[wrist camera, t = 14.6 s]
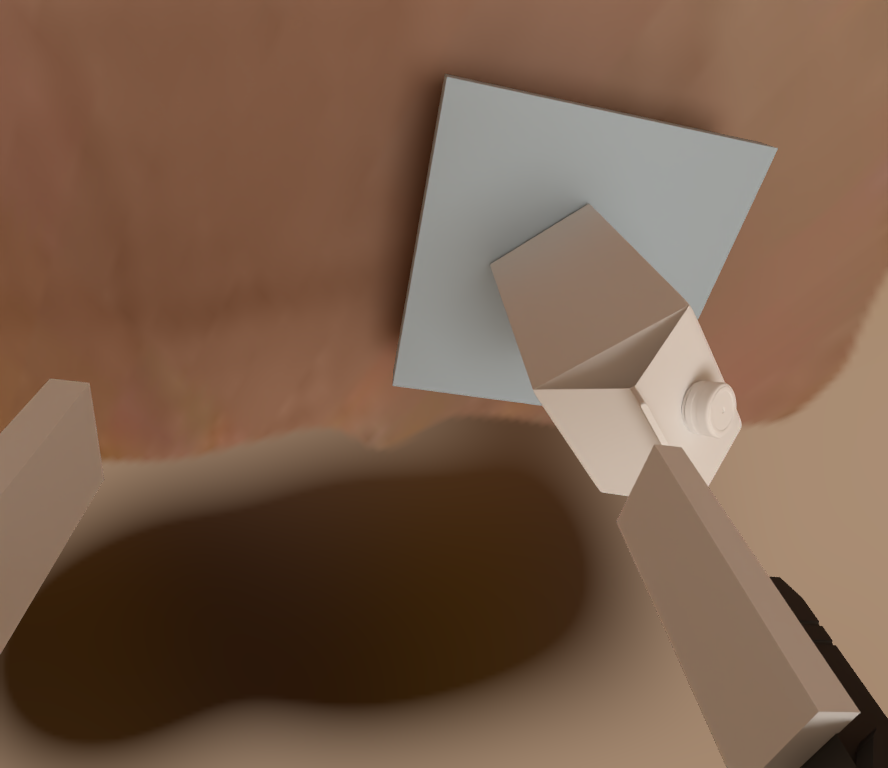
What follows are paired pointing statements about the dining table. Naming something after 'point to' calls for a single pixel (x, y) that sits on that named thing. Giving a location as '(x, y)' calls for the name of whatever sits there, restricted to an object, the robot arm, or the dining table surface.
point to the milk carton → (614, 352)
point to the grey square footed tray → (554, 217)
